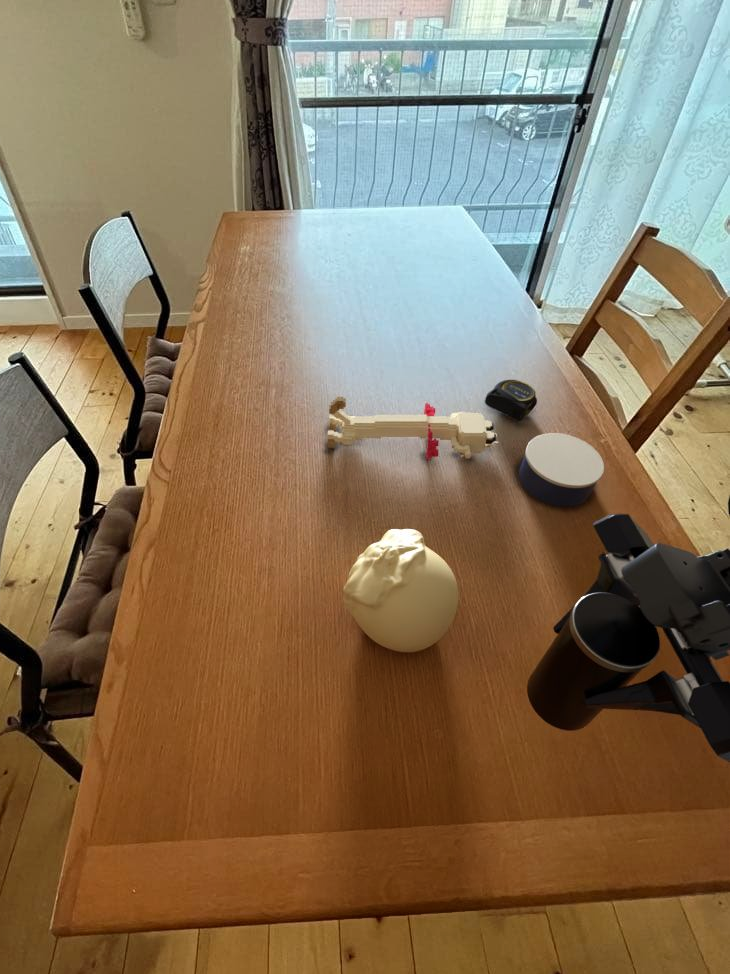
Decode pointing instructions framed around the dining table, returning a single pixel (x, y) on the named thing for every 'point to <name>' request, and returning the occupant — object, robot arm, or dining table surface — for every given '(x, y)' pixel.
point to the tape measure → (512, 399)
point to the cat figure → (414, 428)
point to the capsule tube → (591, 659)
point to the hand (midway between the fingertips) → (569, 666)
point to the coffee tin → (560, 469)
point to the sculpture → (401, 592)
